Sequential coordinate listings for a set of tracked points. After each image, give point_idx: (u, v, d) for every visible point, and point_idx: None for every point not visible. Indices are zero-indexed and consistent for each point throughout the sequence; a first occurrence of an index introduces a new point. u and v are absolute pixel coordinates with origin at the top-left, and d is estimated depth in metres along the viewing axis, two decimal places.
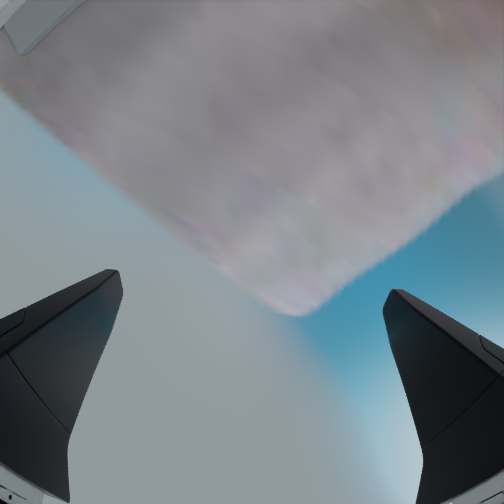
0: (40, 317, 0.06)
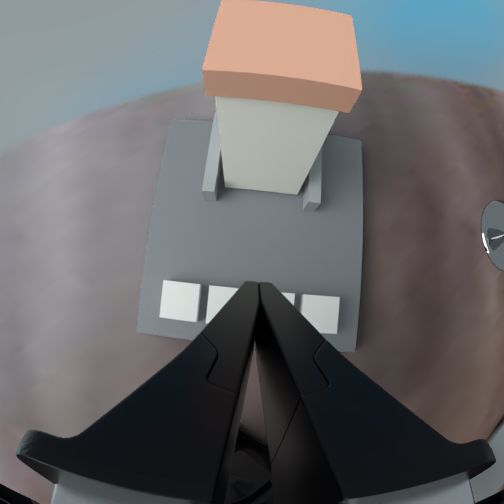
0: (234, 343, 0.06)
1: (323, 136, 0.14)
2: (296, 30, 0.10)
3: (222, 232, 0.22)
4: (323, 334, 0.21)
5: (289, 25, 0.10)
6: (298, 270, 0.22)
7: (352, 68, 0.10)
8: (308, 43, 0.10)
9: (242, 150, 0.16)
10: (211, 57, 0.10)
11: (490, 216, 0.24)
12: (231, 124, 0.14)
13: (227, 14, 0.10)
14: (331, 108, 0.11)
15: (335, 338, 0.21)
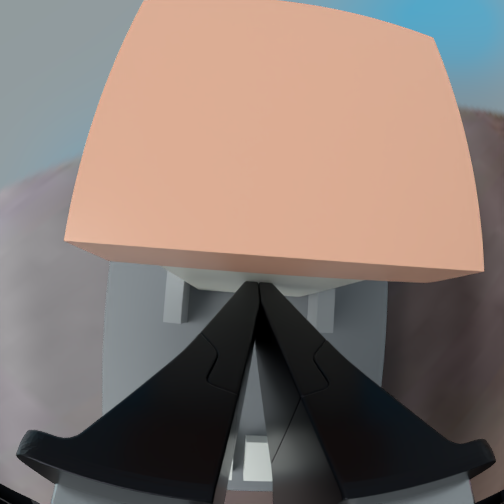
0: (234, 343, 0.06)
1: (357, 280, 0.08)
2: (324, 75, 0.04)
3: None
4: None
5: (305, 60, 0.04)
6: None
7: (465, 200, 0.04)
8: (360, 119, 0.04)
9: (214, 280, 0.10)
10: (87, 190, 0.04)
11: None
12: (185, 268, 0.08)
13: (147, 37, 0.04)
14: (395, 281, 0.05)
15: None
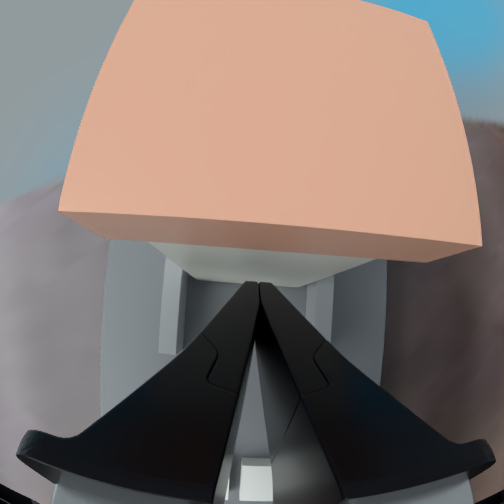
0: (234, 343, 0.06)
1: (355, 265, 0.08)
2: (317, 53, 0.04)
3: None
4: None
5: (299, 39, 0.04)
6: None
7: (460, 174, 0.04)
8: (353, 93, 0.04)
9: (211, 266, 0.10)
10: (82, 162, 0.04)
11: None
12: (181, 250, 0.08)
13: (145, 20, 0.04)
14: (392, 259, 0.05)
15: None
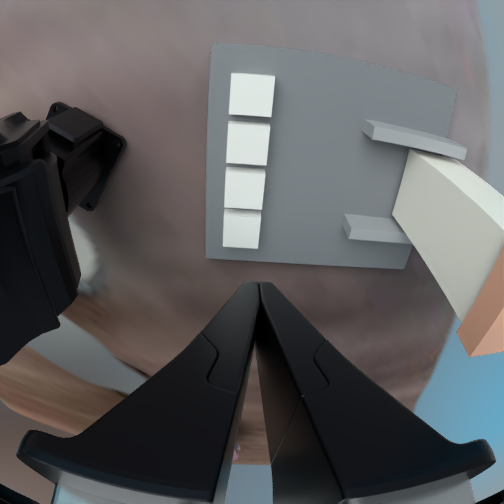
0: (234, 343, 0.06)
1: (443, 289, 0.15)
2: None
3: (327, 135, 0.19)
4: (221, 230, 0.23)
5: None
6: (285, 208, 0.22)
7: (486, 351, 0.11)
8: None
9: (448, 203, 0.15)
10: None
11: None
12: (476, 219, 0.12)
13: None
14: (464, 322, 0.12)
15: (218, 241, 0.23)
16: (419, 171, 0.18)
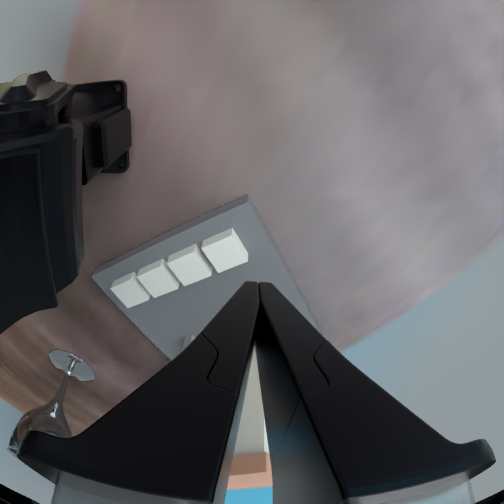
0: (234, 343, 0.06)
1: None
2: (243, 483, 0.21)
3: None
4: (117, 277, 0.25)
5: (248, 483, 0.21)
6: (165, 303, 0.27)
7: None
8: (234, 482, 0.21)
9: (251, 400, 0.25)
10: (267, 474, 0.19)
11: (88, 372, 0.36)
12: (256, 426, 0.22)
13: None
14: None
15: (109, 278, 0.25)
16: (254, 362, 0.28)
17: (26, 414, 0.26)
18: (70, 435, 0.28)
